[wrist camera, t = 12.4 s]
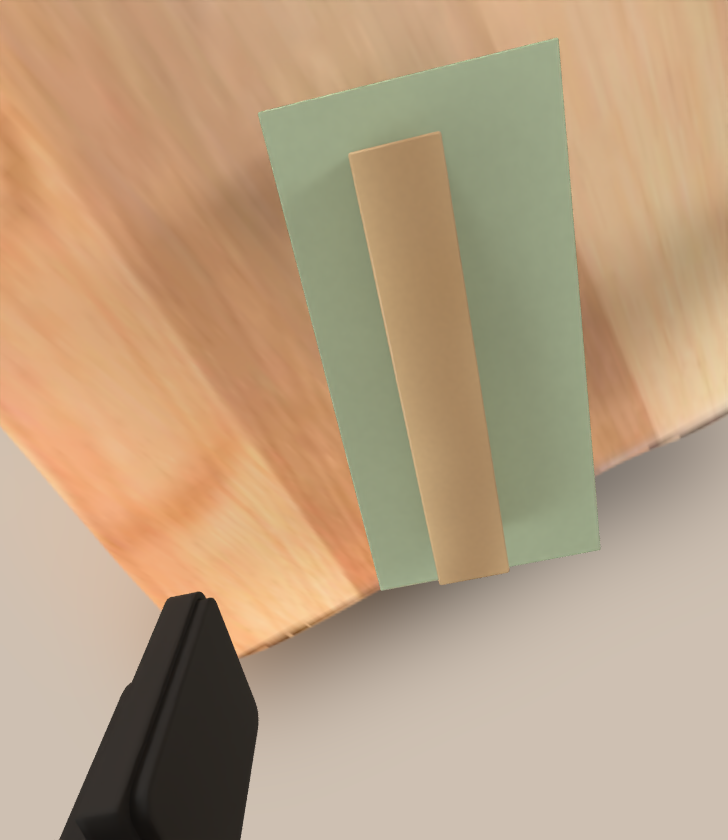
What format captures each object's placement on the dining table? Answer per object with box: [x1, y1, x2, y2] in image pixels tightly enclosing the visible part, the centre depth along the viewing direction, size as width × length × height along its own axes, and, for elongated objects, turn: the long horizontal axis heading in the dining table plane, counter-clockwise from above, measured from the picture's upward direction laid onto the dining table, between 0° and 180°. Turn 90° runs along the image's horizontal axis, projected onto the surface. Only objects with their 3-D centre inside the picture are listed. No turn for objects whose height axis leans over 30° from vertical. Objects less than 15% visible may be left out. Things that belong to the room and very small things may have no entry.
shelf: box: [258, 38, 600, 590], centre depth 29 cm, size 10×20×12 cm, turn 12°
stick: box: [348, 131, 509, 585], centre depth 22 cm, size 3×16×3 cm, turn 12°
